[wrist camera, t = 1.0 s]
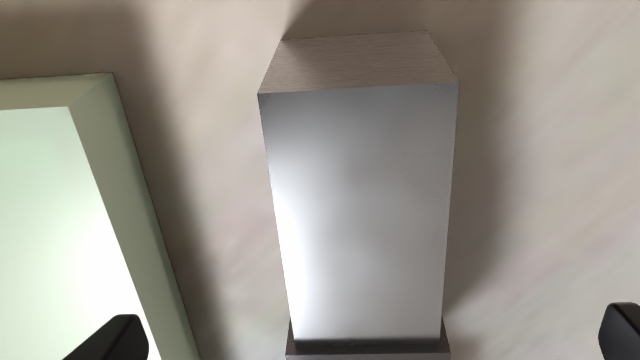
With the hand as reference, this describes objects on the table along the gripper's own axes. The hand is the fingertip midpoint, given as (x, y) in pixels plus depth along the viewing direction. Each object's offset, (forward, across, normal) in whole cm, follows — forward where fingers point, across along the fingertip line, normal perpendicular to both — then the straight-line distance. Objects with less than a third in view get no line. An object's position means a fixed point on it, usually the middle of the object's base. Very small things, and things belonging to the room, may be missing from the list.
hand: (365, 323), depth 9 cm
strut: (+7, 0, +2) cm, 7 cm away
